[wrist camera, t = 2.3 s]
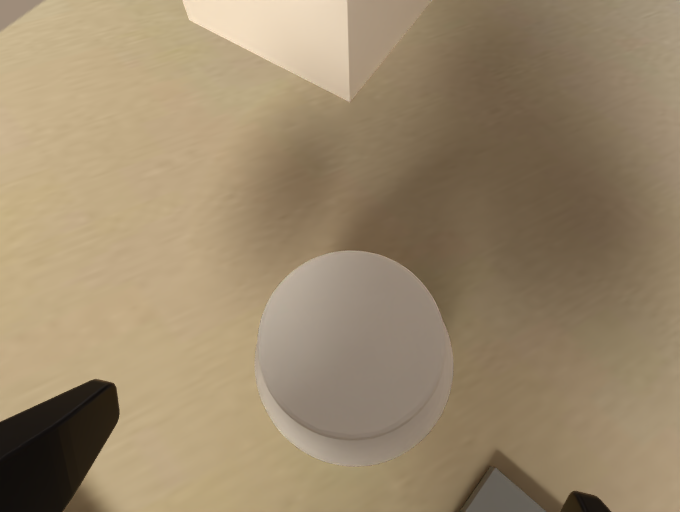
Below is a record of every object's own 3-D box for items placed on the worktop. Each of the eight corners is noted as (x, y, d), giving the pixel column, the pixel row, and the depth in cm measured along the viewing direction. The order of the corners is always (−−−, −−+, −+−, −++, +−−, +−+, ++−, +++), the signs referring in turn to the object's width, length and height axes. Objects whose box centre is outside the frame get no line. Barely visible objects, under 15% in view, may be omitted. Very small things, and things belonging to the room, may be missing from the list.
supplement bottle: (301, 463, 17) (234, 511, 8) (282, 329, 19) (211, 244, 10) (435, 436, 17) (520, 451, 8) (403, 306, 19) (442, 200, 10)
